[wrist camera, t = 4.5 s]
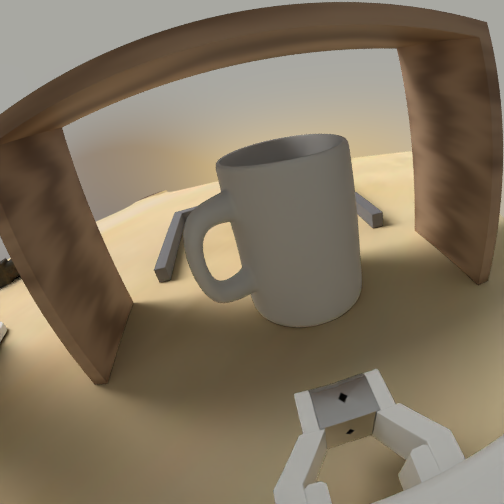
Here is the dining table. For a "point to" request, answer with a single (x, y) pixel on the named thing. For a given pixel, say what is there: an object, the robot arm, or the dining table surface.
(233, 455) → the dining table surface
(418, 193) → the wooden bridge arch
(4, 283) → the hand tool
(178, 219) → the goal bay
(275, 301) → the mug
